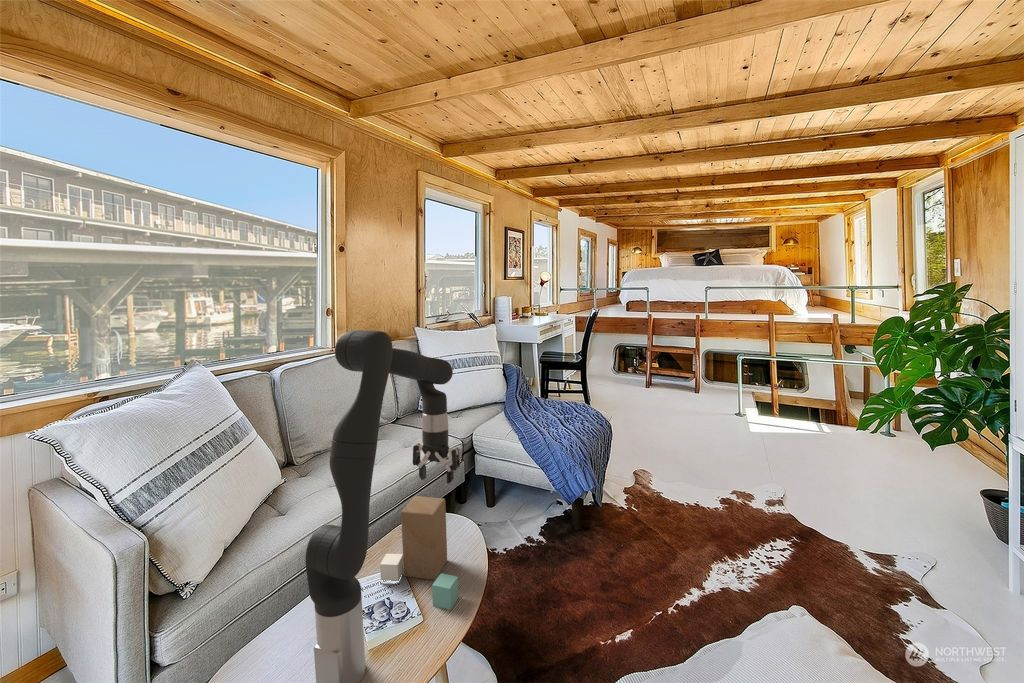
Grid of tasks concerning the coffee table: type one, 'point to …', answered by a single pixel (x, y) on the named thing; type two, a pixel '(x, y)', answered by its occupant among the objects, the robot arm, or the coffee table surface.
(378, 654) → the coffee table surface
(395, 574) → the cream block
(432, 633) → the coffee table surface
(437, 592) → the teal block
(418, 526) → the wooden block
